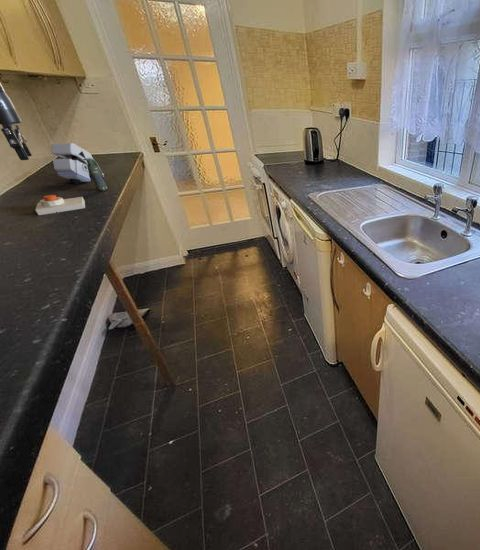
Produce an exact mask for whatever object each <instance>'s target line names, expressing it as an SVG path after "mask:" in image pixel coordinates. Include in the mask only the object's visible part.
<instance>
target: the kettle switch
mask: <svg viewBox="0 0 480 550" xmlns="http://www.w3.org/2000/svg"><path fill="white" fill-rule="evenodd" d="M57 197H58V196H57V195H56V194H49V195H44V196H43V199H45V201H53V200H57Z"/></svg>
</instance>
